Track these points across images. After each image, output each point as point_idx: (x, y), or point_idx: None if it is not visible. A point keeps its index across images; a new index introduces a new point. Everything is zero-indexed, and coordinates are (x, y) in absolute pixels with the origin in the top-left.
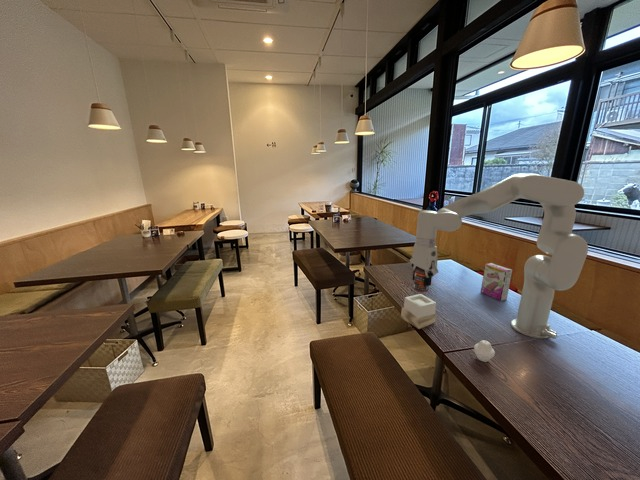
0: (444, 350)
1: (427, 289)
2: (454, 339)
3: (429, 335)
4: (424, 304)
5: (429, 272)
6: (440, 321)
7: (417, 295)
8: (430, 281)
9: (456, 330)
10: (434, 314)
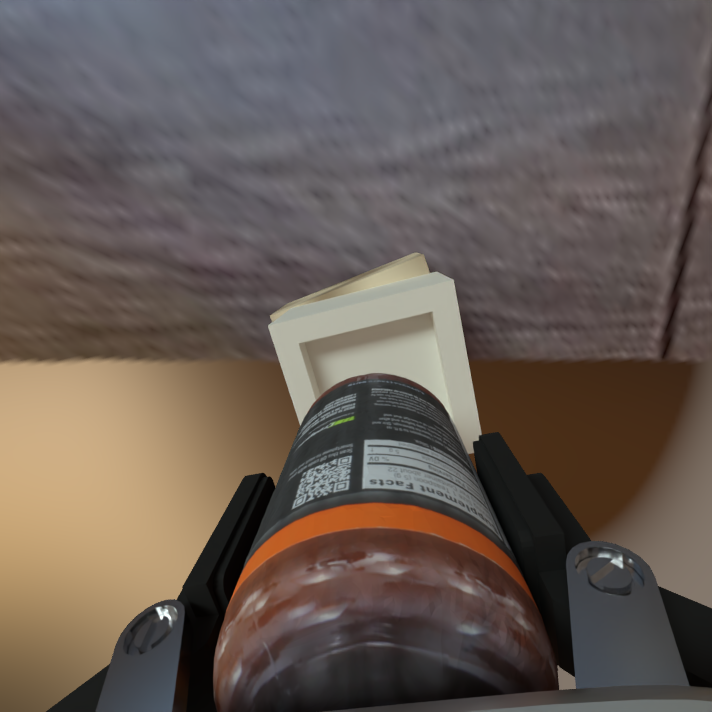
0: (652, 349)
1: (449, 417)
2: (596, 240)
3: (523, 355)
4: (460, 397)
5: (526, 623)
6: (413, 211)
7: (298, 372)
8: (562, 509)
9: (525, 167)
10: (427, 270)
